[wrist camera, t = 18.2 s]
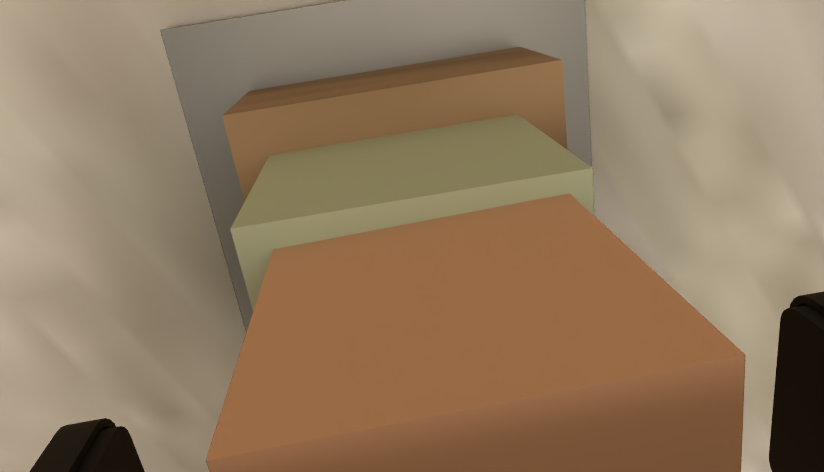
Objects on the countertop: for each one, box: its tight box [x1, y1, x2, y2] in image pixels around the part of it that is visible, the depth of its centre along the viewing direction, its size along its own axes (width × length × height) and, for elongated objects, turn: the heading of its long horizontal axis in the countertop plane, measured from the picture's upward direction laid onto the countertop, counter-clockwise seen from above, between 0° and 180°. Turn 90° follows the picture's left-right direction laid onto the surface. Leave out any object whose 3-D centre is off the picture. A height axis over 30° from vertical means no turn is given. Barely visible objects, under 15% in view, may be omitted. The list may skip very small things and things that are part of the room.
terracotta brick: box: [206, 193, 745, 472], centre depth 9 cm, size 5×5×5 cm
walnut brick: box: [222, 47, 567, 201], centre depth 18 cm, size 8×8×4 cm
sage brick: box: [230, 114, 594, 311], centre depth 14 cm, size 6×6×5 cm
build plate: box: [160, 0, 592, 333], centre depth 20 cm, size 12×12×1 cm
